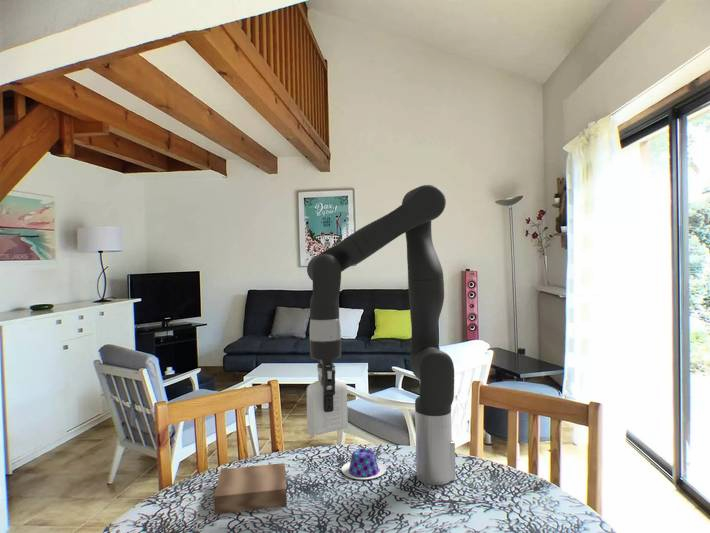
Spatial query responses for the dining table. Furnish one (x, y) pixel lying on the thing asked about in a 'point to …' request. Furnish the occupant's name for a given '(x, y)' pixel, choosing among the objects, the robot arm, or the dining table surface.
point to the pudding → (363, 465)
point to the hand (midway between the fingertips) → (327, 407)
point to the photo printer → (316, 415)
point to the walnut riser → (250, 488)
